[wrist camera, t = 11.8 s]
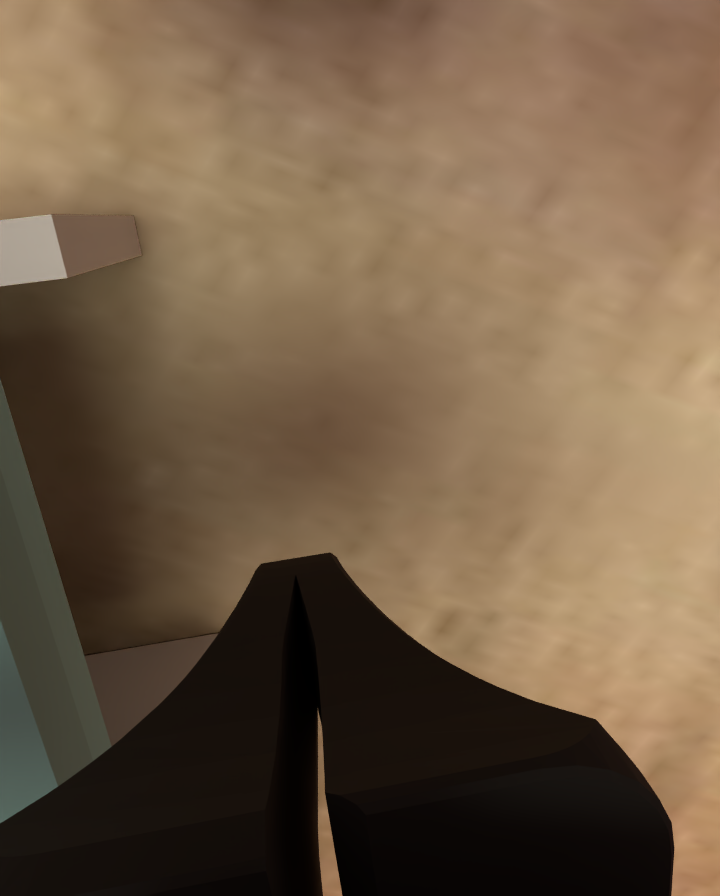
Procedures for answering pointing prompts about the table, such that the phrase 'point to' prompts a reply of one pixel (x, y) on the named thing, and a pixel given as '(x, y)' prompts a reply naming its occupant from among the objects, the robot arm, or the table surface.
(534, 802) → the robot arm
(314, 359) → the table surface
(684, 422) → the table surface
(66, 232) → the housing
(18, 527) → the lid
